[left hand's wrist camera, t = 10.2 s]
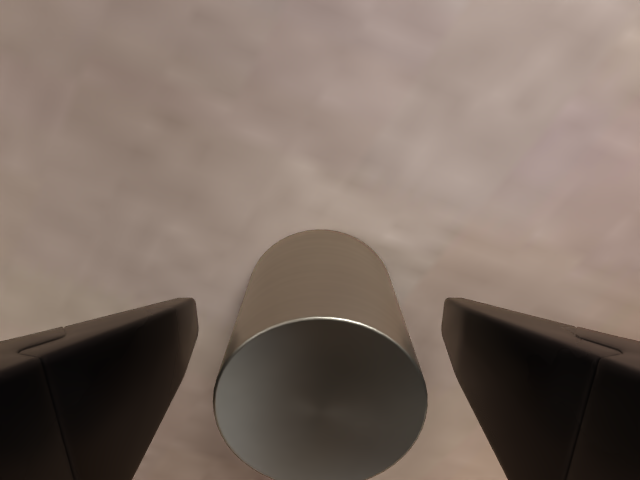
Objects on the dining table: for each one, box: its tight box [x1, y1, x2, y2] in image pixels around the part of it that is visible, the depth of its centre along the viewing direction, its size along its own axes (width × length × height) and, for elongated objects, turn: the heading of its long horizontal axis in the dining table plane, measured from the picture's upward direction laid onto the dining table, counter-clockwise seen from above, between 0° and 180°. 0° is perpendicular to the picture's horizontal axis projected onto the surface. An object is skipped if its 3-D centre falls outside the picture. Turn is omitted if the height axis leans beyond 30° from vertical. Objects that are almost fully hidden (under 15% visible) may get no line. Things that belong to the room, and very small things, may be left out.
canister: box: [213, 230, 428, 480], centre depth 10 cm, size 4×4×4 cm
